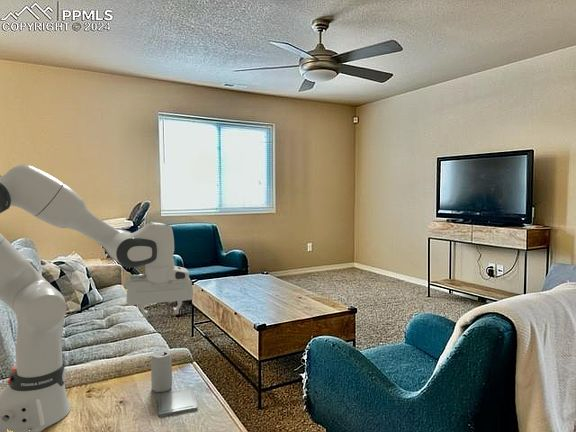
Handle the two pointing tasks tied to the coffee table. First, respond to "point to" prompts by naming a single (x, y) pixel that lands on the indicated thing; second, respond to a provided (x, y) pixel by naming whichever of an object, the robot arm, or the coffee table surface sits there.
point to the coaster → (176, 402)
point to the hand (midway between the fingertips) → (160, 315)
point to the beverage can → (161, 370)
